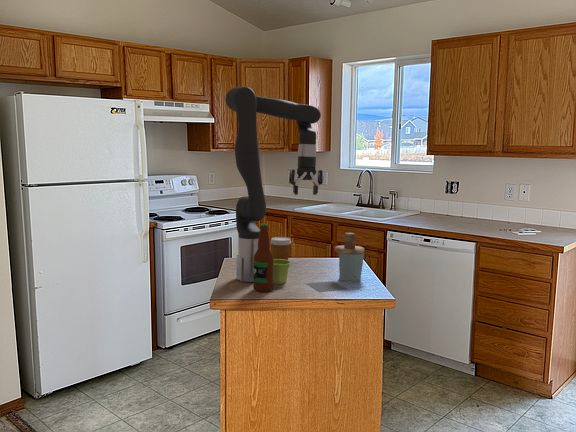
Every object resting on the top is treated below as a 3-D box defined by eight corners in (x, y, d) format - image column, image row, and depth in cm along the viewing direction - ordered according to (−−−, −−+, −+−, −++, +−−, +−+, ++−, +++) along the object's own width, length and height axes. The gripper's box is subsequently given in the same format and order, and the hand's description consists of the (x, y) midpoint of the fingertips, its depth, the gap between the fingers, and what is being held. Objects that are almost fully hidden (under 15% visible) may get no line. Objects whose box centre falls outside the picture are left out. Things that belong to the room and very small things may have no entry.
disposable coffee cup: (283, 268, 229) (283, 241, 227) (265, 265, 234) (266, 238, 233) (294, 264, 237) (295, 238, 235) (277, 261, 242) (278, 236, 240)
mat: (319, 293, 192) (319, 292, 192) (305, 285, 203) (305, 283, 203) (347, 290, 197) (347, 289, 197) (333, 282, 208) (333, 281, 208)
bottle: (251, 287, 198) (252, 222, 194) (269, 286, 200) (270, 222, 197) (256, 293, 191) (257, 225, 187) (275, 292, 193) (276, 225, 190)
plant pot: (293, 281, 208) (294, 260, 207) (285, 287, 200) (286, 265, 198) (271, 279, 211) (272, 258, 210) (262, 284, 203) (263, 263, 201)
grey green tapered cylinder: (335, 277, 216) (336, 248, 215) (359, 277, 217) (360, 248, 216) (340, 283, 206) (341, 254, 205) (365, 283, 207) (367, 254, 206)
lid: (344, 255, 203) (344, 236, 202) (329, 249, 214) (329, 231, 213) (370, 253, 208) (371, 235, 207) (354, 247, 219) (355, 230, 218)
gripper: (294, 155, 209) (293, 195, 211) (326, 156, 214) (324, 195, 217) (287, 154, 216) (286, 193, 218) (318, 155, 221) (317, 193, 223)
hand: (305, 194), depth 217 cm, fingers open, 8 cm apart
